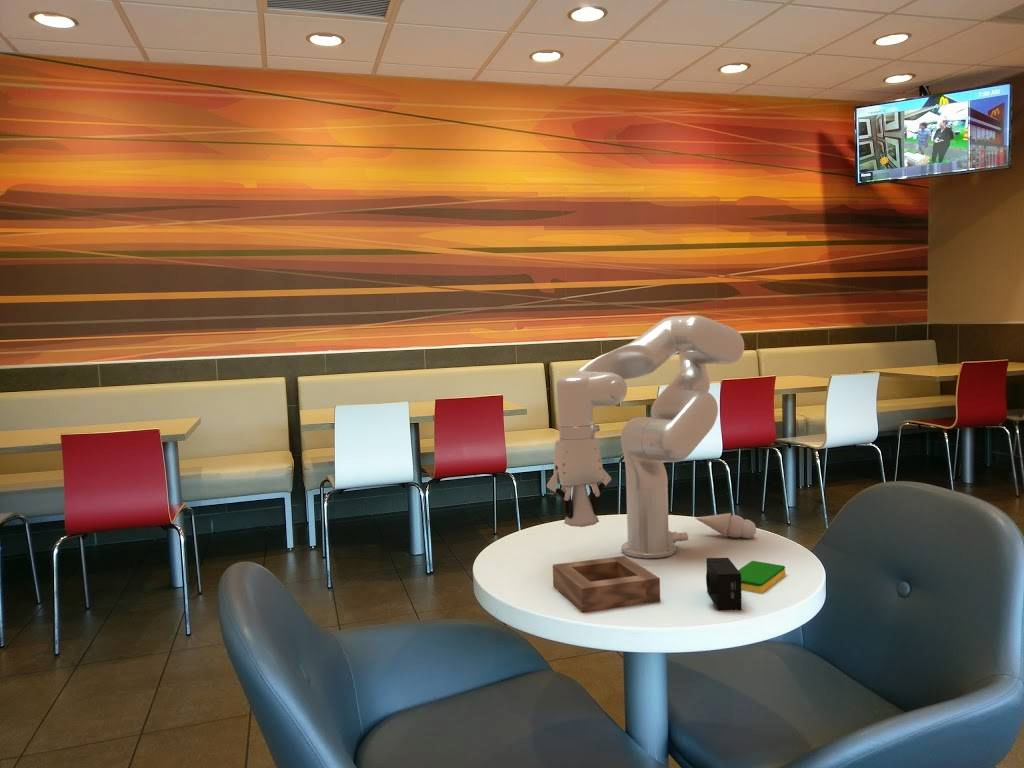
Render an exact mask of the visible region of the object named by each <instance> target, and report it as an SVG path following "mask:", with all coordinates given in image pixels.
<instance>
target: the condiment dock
mask: <svg viewBox="0 0 1024 768" xmlns="http://www.w3.org/2000/svg"><path fill="white" fill-rule="evenodd" d="M552 585H553V587H554V588H555V589H556V590H557V591H558V592H559V593H561V595H562V596H563V597H565V599H567V600H568V601H569V602H570V603H571V604H572V605H573V606H575V608H577V610H579V611H580V612H581V613H588V612H589V613H590V612H593V611H595V612H596V611H601V610H608V609H614V608H615V609H616V608H624V607H629V606H636V605H637V606H638V605H643V604H651V603H656V602H657V603H658V602H661V580H660V577H658V576H657V575H655V574H654V573H653V572H651V571H649V570H648V569H646V568H644V567H643V566H641V565H639V564H638V563H636V562H635V561H634V560H632V559H630V558H628V557H627V556H625V555H620V556H613V557H603V558H597V559H596V558H594V559H590V560H580V561H573V562H566V563H556V564H555V563H554V564H552Z"/></svg>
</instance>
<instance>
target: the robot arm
mask: <svg viewBox="0 0 1024 768" xmlns="http://www.w3.org/2000/svg"><path fill="white" fill-rule="evenodd" d="M744 351H745V341H744V339H743V336H742V334H741V333H740V332H739V331H738V330H737V329H735V328H733V327H731V326H729V325H725V324H724V323H720V321H719V322H718V321H716V320H713V319H711V318H708V317H705V316H702V315H699V314H698V315H697V314H696V315H695V314H693V315H691V314H690V315H675V316H674V315H673V316H668V317H665V318H662V319H661V320H660V321H658V322H657V323H655V324H654V325H652V327H650V328H649V329H647V330H646V331H645V332H644V333H642V334H641V335H639V336H637V337H636V338H635V339H634V340H633V341H631V342H629V343H627V344H625V345H622V346H620V347H618V348H617V347H616V348H615V349H613V350H611V351H609V352H607V353H604V354H602V355H599V356H598V357H596V358H594V359H592V360H590V361H589V362H587V363H586V364H584V365H583V366H582V367H580V368H579V369H578V370H577V371H575V372H574V374H572V375H568V376H566V375H565V376H562V377H559V378H558V380H557V382H556V398H557V399H556V400H557V401H556V402H557V403H556V404H557V415H558V418H557V419H558V432H559V433H558V435H559V436H558V437H559V439H556V440H555V444H554V451H553V475H551V477H550V479H549V481H548V482H547V484H546V488H548V489H550V490H551V491H552V492H554V493H555V494H556V495H557V496H559V497H560V498H561V500H562V512H563V514H564V515H565V517H566V516H567V517H568V518H570V519H571V518H572V517H573V506H572V500H571V493H572V490H573V486H581V485H586V486H587V487H588V489H589V490H588V491H589V494H588V497H589V499H590V501H591V504H592V506H593V511H594V514H595V515H597V516H598V511H599V510H600V509H599V508H600V507H599V497H600V496H601V493H602V491H603V490H604V489H605V487H606V486H607V485H608V484H609V483H610V482H611V481H612V477H611V476H610V475H609V473H608V472H607V471H606V470H605V469H604V468H603V461H602V455H601V454H602V453H601V449H600V445H599V441H598V438H597V437H595V436H596V433H597V432H600V429H601V428H600V426H599V425H595V423H594V410H593V408H595V407H607V408H610V407H614V406H616V405H619V404H620V403H622V401H624V399H625V398H626V395H627V393H628V391H627V390H628V385H627V383H626V381H625V380H631V379H637V378H640V377H644V376H647V375H650V374H652V373H653V372H655V371H657V369H659V368H660V367H661V366H662V365H663V364H665V363H666V362H667V361H669V360H670V359H671V358H673V357H674V356H675V355H677V354H678V357H679V358H678V359H679V370H678V373H677V375H676V376H675V377H674V378H673V380H672V381H671V382H670V383H669V384H668V385H667V386H666V388H664V389H663V390H662V392H661V393H660V394H659V395H658V396H657V397H656V399H655V400H654V401H653V404H652V405H651V409H650V410H651V411H650V412H651V413H650V414H651V417H649V416H638V417H634V418H632V419H629V420H628V421H627V422H626V423H625V424H623V427H622V429H621V432H620V443H621V444H620V445H621V449H622V453H623V454H622V455H623V459H624V465H625V477H626V478H625V481H626V484H625V487H626V521H627V523H626V525H627V526H626V527H627V542H624V543H623V544H621V546H620V547H621V549H620V551H621V553H623V554H624V555H626V556H629V557H632V558H641V559H659V558H661V559H662V558H666V557H667V558H668V557H670V556H672V555H674V554H675V553H676V552H677V548H676V545H675V544H676V543H677V542H684V541H685V542H686V541H688V539H689V535H688V533H687V532H685V531H684V532H679V533H678V532H677V531H670V530H669V528H670V527H669V494H668V493H669V492H668V491H669V490H668V489H669V487H668V486H669V485H668V484H669V481H668V473H667V471H666V470H667V469H666V466H665V465H664V462H667V463H679V462H681V461H683V460H685V459H687V458H688V457H689V456H690V455H691V454H692V453H693V451H694V450H695V449H696V448H697V447H698V445H700V444H701V443H702V441H703V440H704V439H705V437H706V436H707V435H708V434H709V433H710V431H711V430H712V429H713V427H714V426H715V423H716V421H717V417H718V413H719V410H718V409H719V408H718V407H719V405H718V403H717V400H716V398H715V396H714V395H712V393H710V392H709V390H710V388H711V387H710V385H711V383H710V377H709V375H708V369H707V364H709V365H729V364H733V363H736V362H738V361H739V360H740V359H741V357H742V356H743V355H744ZM557 484H558V485H560V486H561V488H560V487H558V486H557Z"/></svg>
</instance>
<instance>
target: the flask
mask: <svg viewBox="0 0 1024 768" xmlns="http://www.w3.org/2000/svg"><path fill="white" fill-rule="evenodd" d="M588 496H589V494H588V490H587V485H581V486H572V495H571V498H570V500H572V506H573V517H572V518H571V519H570V518H568V517H567V516H565V518H564V522H563V524H565V525H567V526H569V527H579V528H585V527H589V526H594V525H596V524H597V523H599V522H600V520H599V518H598V514H597V515H595V514H594V511H593V506H592V504H591V501H590V499H589V497H588Z"/></svg>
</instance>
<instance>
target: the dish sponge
mask: <svg viewBox="0 0 1024 768" xmlns="http://www.w3.org/2000/svg"><path fill="white" fill-rule="evenodd" d="M738 571H739V572H740V573H741V591H743V592H744V591H745V592H749V593H757V594H763V593H764V592H766V591H767V590H768V589H770V588H771V587H772V586H773V585H775V584H776V583H777V582H779V581H780V580H781V579H782V578H784V577H785V576H786V566H785V565H782V564H775V563H770V562H764V561H763V562H762V561H756V560H751V561H750V562H748V563H747V564H746V565H743V566H742V567H741V568H739V569H738ZM784 575H785V576H784ZM783 576H784V577H783ZM779 579H780V580H779ZM778 580H779V581H778ZM774 583H775V584H774Z"/></svg>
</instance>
